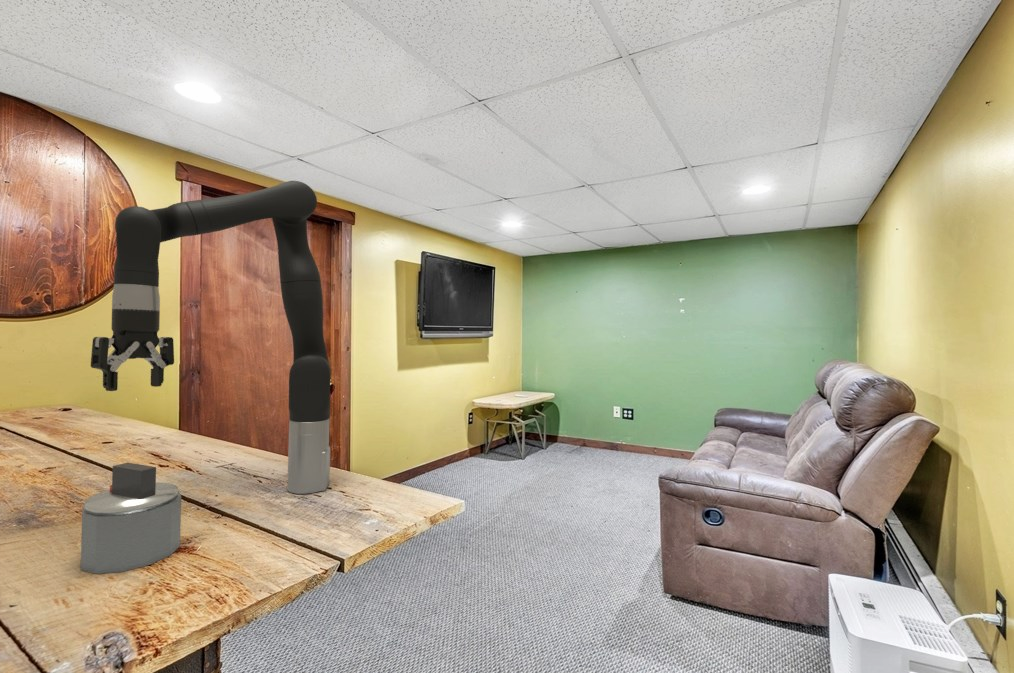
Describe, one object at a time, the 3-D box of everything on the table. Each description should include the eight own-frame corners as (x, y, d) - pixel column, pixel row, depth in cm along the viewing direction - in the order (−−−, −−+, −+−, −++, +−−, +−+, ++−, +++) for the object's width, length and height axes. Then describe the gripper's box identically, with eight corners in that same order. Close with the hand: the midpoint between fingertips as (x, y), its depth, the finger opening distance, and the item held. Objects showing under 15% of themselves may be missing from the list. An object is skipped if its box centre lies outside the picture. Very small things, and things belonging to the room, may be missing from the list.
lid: (194, 494, 83) (195, 461, 83) (118, 520, 71) (119, 481, 71) (146, 485, 87) (146, 454, 86) (65, 508, 75) (66, 472, 75)
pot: (192, 534, 86) (193, 487, 86) (154, 569, 74) (156, 514, 74) (112, 539, 84) (114, 490, 84) (59, 576, 71) (61, 518, 71)
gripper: (110, 306, 84) (109, 393, 84) (184, 310, 98) (182, 385, 98) (82, 305, 86) (80, 391, 86) (158, 310, 100) (156, 384, 100)
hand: (134, 388), depth 92 cm, fingers open, 8 cm apart
